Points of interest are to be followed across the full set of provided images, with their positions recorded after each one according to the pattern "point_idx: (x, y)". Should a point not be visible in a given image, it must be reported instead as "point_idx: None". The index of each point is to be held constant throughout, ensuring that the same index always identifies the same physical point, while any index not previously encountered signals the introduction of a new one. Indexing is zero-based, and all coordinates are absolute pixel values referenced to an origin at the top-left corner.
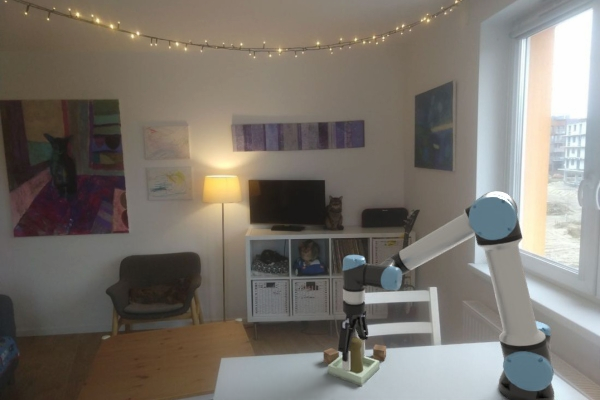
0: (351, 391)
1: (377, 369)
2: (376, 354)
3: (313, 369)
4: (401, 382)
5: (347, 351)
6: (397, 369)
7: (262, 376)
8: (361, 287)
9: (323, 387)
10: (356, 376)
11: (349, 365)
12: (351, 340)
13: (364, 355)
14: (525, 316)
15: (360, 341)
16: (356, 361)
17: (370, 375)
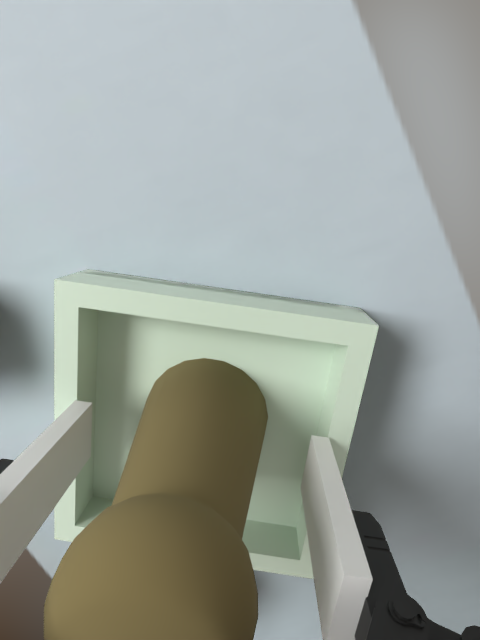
0: (447, 344)
1: (113, 275)
2: None
3: (301, 606)
4: (176, 44)
5: (423, 614)
6: (13, 139)
7: None
8: None
9: (465, 501)
10: (365, 366)
11: (333, 464)
12: None
13: (72, 411)
14: None
15: (137, 579)
16: (243, 436)
17: (225, 292)
